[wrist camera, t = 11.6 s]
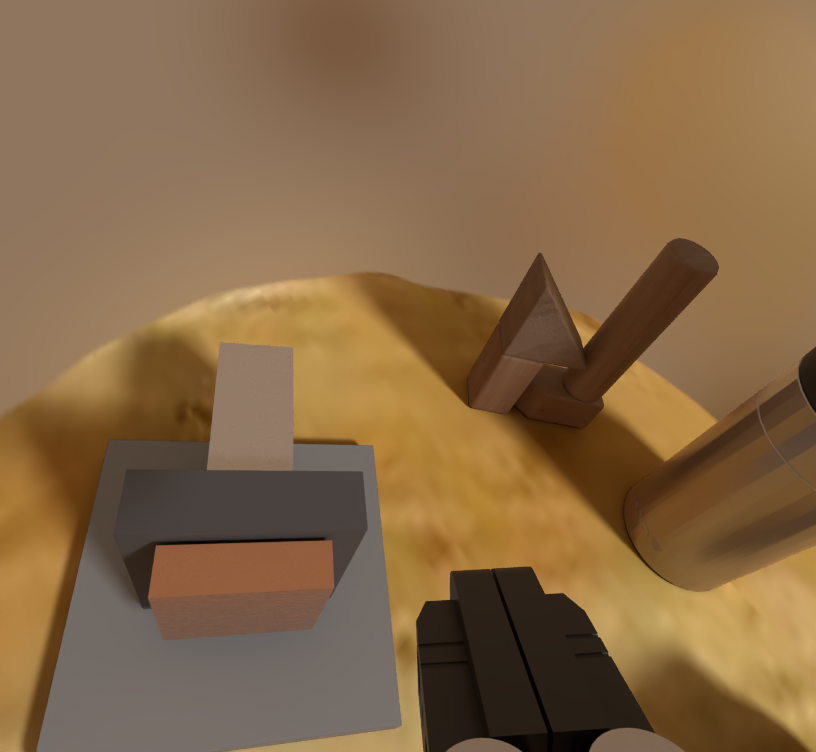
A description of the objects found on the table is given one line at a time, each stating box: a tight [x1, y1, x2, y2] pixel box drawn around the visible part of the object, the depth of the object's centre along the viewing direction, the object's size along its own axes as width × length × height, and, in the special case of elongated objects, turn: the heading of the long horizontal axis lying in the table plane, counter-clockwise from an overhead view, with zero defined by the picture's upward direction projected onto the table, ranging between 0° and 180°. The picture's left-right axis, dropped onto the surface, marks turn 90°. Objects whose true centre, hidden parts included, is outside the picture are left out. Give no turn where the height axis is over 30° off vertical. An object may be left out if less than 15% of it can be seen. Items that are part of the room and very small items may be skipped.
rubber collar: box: [113, 469, 368, 609], centre depth 27 cm, size 10×3×10 cm, turn 97°
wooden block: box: [468, 238, 719, 428], centre depth 40 cm, size 4×11×18 cm, turn 88°
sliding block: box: [148, 342, 334, 641], centre depth 28 cm, size 7×14×7 cm, turn 7°
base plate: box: [36, 440, 402, 752], centre depth 32 cm, size 17×17×2 cm
